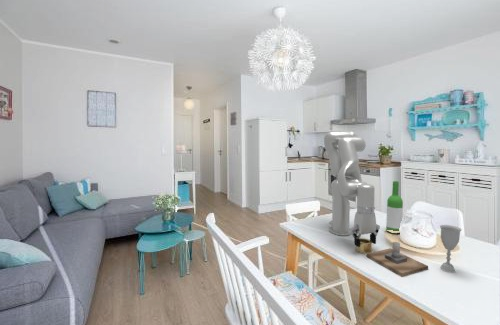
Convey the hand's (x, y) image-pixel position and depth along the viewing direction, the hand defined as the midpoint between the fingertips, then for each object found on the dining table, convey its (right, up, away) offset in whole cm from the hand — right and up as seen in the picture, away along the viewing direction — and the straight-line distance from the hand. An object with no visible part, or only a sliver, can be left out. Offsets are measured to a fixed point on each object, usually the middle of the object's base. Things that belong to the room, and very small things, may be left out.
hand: (365, 244), depth 119 cm
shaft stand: (+8, -5, -11) cm, 14 cm away
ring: (0, -4, +1) cm, 4 cm away
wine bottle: (+28, -1, +24) cm, 37 cm away
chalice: (+27, -5, -17) cm, 32 cm away
